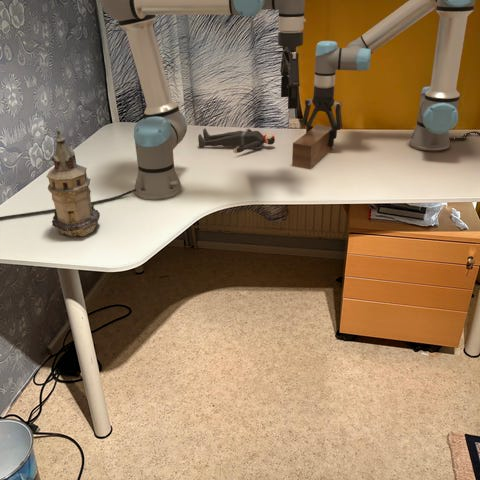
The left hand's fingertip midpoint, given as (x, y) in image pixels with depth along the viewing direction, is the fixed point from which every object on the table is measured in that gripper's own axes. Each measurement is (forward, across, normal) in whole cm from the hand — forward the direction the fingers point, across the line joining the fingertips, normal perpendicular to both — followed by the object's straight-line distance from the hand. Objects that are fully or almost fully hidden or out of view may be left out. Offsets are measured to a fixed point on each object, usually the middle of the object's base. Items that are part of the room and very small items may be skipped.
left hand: (288, 102), depth 170 cm
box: (+28, +23, -14) cm, 38 cm away
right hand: (+25, +29, -18) cm, 43 cm away
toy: (+27, +38, +13) cm, 49 cm away
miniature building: (+27, -26, +66) cm, 76 cm away
